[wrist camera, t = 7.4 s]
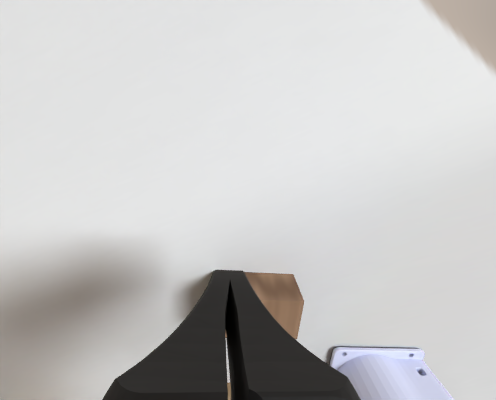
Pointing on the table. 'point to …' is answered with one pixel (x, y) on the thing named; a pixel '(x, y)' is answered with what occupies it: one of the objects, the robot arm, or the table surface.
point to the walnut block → (279, 298)
